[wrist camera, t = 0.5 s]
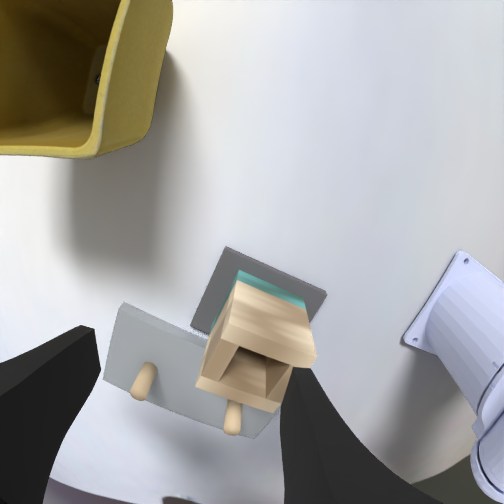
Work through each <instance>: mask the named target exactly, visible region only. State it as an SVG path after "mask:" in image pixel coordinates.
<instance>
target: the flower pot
mask: <svg viewBox="0 0 504 504" xmlns="http://www.w3.org/2000/svg"><path fill="white" fill-rule="evenodd" d="M172 20H173V3H172V0H0V155H21V156H44V157H53V158H69V159H91V158H94V157H97V156H100V155H103V154H106V153H109V152H112V151H115V150H118V149H121V148H123V147H127V146H129V145H132V144H135V143H137V142H138V141H140V140H141V139H142V138H143V137H144V136H145V135H146V134H147V132H148V130H149V128H150V125H151V121H152V116H153V110H154V104H155V98H156V93H157V87H158V82H159V77H160V72H161V68H162V63H163V59H164V54H165V50H166V46H167V42H168V39H169V35H170V31H171V26H172ZM99 75H101V78H100V83H97V82H96V79H97V77H98V76H99Z"/></svg>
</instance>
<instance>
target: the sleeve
mask: <svg viewBox="0 0 504 504" xmlns="http://www.w3.org/2000/svg"><path fill="white" fill-rule="evenodd" d="M316 358H317V355H316V350H315V346H314V342H313V337H312V333H311V328H310V324H309V320H308V316H307V311H306V307H305V303H304V299H303V297H300V296H298V295H296V294H293V293H291V292H289V291H286V290H284V289H282V288H279V287H277V286H275V285H273V284H270V283H268V282H266V281H264V280H261V279H259V278H257V277H254V276H252V275H250V274H248V273H245V272H243V271H241V270H239V271H238V273H237V275H236V277H235V279H234V281H233V283H232V285H231V287H230V289H229V291H228V293H227V295H226V297H225V299H224V301H223V303H222V305H221V307H220V309H219V311H218V313H217V315H216V318H215V320H214V322H213V324H212V326H211V330H210V334H209V337H208V341H207V345H206V348H205V352H204V355H203V359H202V363H201V366H200V370H199V374H198V378H197V381H196V385H195V387H197V388H200V389H203V390H205V391H208V392H211V393H213V394H216V395H219V396H221V397H224V398H227V399H230V400H233V401H236V402H239V403H242V404H245V405H248V406H251V407H254V408H257V409H261V410H264V411H267V412H270V413H274V412H275V410H276V409H277V408H278V407H279V406H280V404H281V403H282V401H283V398H284V394H285V391H286V388H287V385H288V382H289V378H290V375H291V372H292V368H293V367H301V368H309V367H310V366H311V365H312V363H313V362H314V361H315V359H316Z"/></svg>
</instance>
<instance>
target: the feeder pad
mask: <svg viewBox="0 0 504 504" xmlns="http://www.w3.org/2000/svg"><path fill="white" fill-rule="evenodd" d="M239 270H241V271H243V272H245V273H248V274H250V275H252V276H254V277H257V278H259V279H261V280H264V281H266V282H268V283H270V284H273V285H275V286H277V287H279V288H282V289H284V290H286V291H289V292H291V293H293V294H296V295H298V296H300V297H303V299H304V303H305V307H306V311H307V316H308V320H309V323H310V321H311V320H312V318H313V317H314V315H315V314H316V312H317V311H318V309H319V307H320V306H321V304H322V303H323V301H324V299H325V298H326V296H327V294H326V291H324V290H322V289H320V288H317V287H315V286H313V285H311V284H309V283H306V282H304V281H302V280H300V279H297V278H295V277H293V276H291V275H288V274H286V273H284V272H282V271H280V270H277V269H275V268H273V267H271V266H268V265H266V264H264V263H262V262H260V261H257V260H255V259H253V258H251V257H249V256H246V255H244V254H242V253H240V252H237V251H235V250H233V249H231V248H229V247H226V246H225V249H224V251H223V253H222V255H221V257H220V259H219V262H218V264H217V266H216V268H215V270H214V273H213V275H212V277H211V279H210V281H209V284H208V286H207V288H206V290H205V293H204V295H203V297H202V299H201V302H200V304H199V306H198V308H197V311H196V313H195V315H194V317H193V320H192V322H191V324H190V326H192V327H194V328H196V329H199V330H201V331H203V332H206V333H208V334H210V330H211V326H212V324H213V322H214V320H215V318H216V315H217V313H218V311H219V309H220V307H221V305H222V303H223V301H224V299H225V297H226V295H227V293H228V291H229V289H230V287H231V285H232V283H233V281H234V279H235V277H236V275H237V273H238V271H239Z"/></svg>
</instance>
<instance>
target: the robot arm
mask: <svg viewBox="0 0 504 504" xmlns="http://www.w3.org/2000/svg"><path fill="white" fill-rule="evenodd" d="M465 259H466V261H465V262H464V260H465ZM414 338H415V339H414ZM403 339H404V341H405V343H406V344H409V345H411V346H414V347H416V348H419V349H421V350H424V351H426V352H429V353H432V354H434V355H437V356H438V357H439V359H440V360H441V362H442V363H443V364H444V366H445V367H446V369H447V370H448V372H449V373H450V375H451V376H452V378H453V379H454V381H455V382H456V384H457V385H458V387H459V388H460V390H461V392H462V393H463V395H464V396H465V398H466V399H467V401H468V403H469V404H470V406H471V407H472V409H473V411H474V412H475V414H476V416H477V419H476V421H475V423H474V424H473V425H472V429H473V431H474V433H475V435H476V436H477V438H478V439H477V440H476V442H475V443H474V445H473V447H472V450H471V467H472V471H473V475H474V477H475V480H476V482H477V484H478V485H479V487H480V488H481V490H482V491H483V492H484V493H485V494H486V495H487V496H489V497H490V498H492V499H494V500H495V501H498V502H500V503H503V504H504V283H503V282H502V281H501V280H500V279H499V278H497V277H496V276H495V275H494V274H492V273H491V272H490V271H489V270H487V269H486V268H485V267H484V266H482V265H481V264H480V263H479V262H477V261H476V260H475V259H473V258H472V257H471V256H469V255H468V254H467V253H465V252H464V251H462V250H461V251H458V252H457V253H456V255H455V257H454V258H453V260H452V262H451V264H450V265H449V267H448V269H447V271H446V272H445V274H444V276H443V277H442V279H441V281H440V282H439V284H438V285H437V287H436V289H435V290H434V292H433V293H432V295H431V297H430V298H429V300H428V301H427V303H426V304H425V306H424V307H423V309H422V310H421V312H420V313H419V315H418V316H417V318H416V319H415V320H414V322H413V323H412V325H411V326H410V328H409V329H408V330H407V332H406V333H405V335H404V336H403ZM413 339H414V340H413ZM412 340H413V341H412ZM100 371H101V367H100V361H99V356H98V350H97V344H96V337H95V330H94V329H93V328H89V327H86V326H83V325H80V326H78V327H75V328H73V329H71V330H69V331H67V332H65V333H63V334H61V335H59V336H58V337H56V338H54V339H52V340H50V341H48V342H46V343H44V344H42V345H40V346H38V347H36V348H34V349H32V350H30V351H28V352H26V353H23V354H21V355H19V356H17V357H15V358H12V359H10V360H7V361H5V362H2V363H0V504H43V499H44V494H45V490H46V486H47V483H48V479H49V476H50V473H51V470H52V467H53V464H54V461H55V458H56V456H57V453H58V451H59V448H60V446H61V443H62V441H63V439H64V437H65V435H66V433H67V431H68V430H69V428H70V426H71V425H72V423H73V421H74V420H75V418H76V416H77V415H78V413H79V411H80V410H81V408H82V407H83V405H84V403H85V402H86V400H87V398H88V397H89V395H90V393H91V392H92V390H93V387H94V385H95V383H96V381H97V378H98V376H99V374H100ZM280 438H281V449H282V461H283V472H284V487H285V495H284V504H443V503H442V502H440V501H438V500H436V499H434V498H432V497H430V496H428V495H427V494H425V493H423V492H421V491H419V490H418V489H416V488H415V487H413V486H412V485H410V484H409V483H407V482H406V481H404V480H403V479H401V478H400V477H399V476H397V475H396V474H395V473H393V472H392V471H391V470H390V469H389V468H387V467H386V466H385V465H384V464H383V463H382V462H380V461H379V460H378V459H377V458H376V457H375V456H374V455H373V454H372V453H371V452H370V451H369V450H368V449H367V448H366V447H365V446H364V445H363V444H362V443H361V442H360V440H359V439H358V438H357V437H356V436H355V435H354V433H353V432H352V431H351V430H350V428H349V427H348V426H347V424H346V423H345V422H344V420H343V419H342V418H341V416H340V415H339V413H338V412H337V410H336V409H335V408H334V406H333V405H332V403H331V402H330V400H329V398H328V397H327V395H326V394H325V392H324V390H323V389H322V387H321V385H320V384H319V382H318V380H317V378H316V377H315V375H314V373H313V371H312V370H311V369H310V368H301V367H293V368H292V372H291V375H290V378H289V382H288V385H287V388H286V391H285V394H284V398H283V401H282V404H281V414H280Z"/></svg>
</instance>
